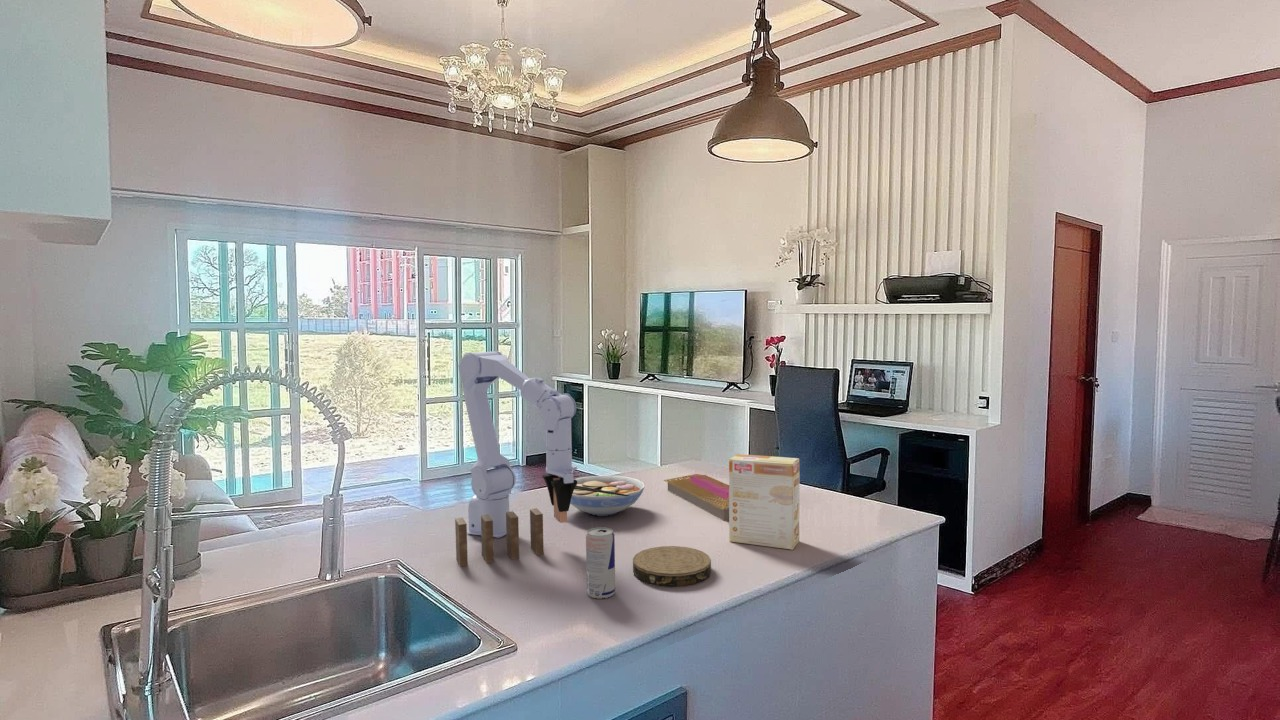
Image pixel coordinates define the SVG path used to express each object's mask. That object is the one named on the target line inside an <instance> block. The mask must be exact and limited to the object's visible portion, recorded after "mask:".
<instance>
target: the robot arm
mask: <svg viewBox="0 0 1280 720" xmlns="http://www.w3.org/2000/svg"><path fill="white" fill-rule="evenodd" d="M508 359H509V358H508V356H507V355H505V354H503V353H502V352H501V351H499V350H492V351H482V352H479V351H478V352H470V351H469V352H466V353H464V354H463V355H462V358H461V360H460V362H459V363H458V365H457V367H458V370H459V375H460V379H461V384H462V385H461V386H462V394H463V397H464V403H465V408H466V411H467V416H468V421H469V426H470V430H471V433H472V434H471V435H472V438H473V444H474V447H475V452H476V458H477V459H476V461H475V463H474V464H473V465H472V467H470V475H471V481H470V487H471V490H472V492H473V494H474V495H473V496H472V497H470V498H471V499H469V503H468V509H467V510H468V530H467V535H475V536H481V515H487V514H488V515H489V516H490V517H491V519H492V520H493V538H498V539H499V538H502V537H504V536H506V512H510V494H512V489H514V487H515V486H516V482H517V479H516V478H517V477H516V474H515V471H514V470H513V468H512V466H511V463H510V459H508V458H507V457H505V456H504V455H502V454H501V453H500V447H499V443H498V439H497V434H496V430H495V425H494V420H493V415H492V411H491V408H490V403H489V399H488V394H487V391H488V390H489V388H490V386H492V385H493V383H494V382H496V381H497V380H498V379H499V378H500V379H502V380H503V381H505V382H506V383H508V384H509V385H510V386H512V387H515V388H516V390H517V389H518V390H519V391H520V397H521V398H522V399H523V400H524V401H526V402H527V403H529V404H530V405H531V406H533V407H534V408H535V409H537V410H538V411H539V415H540V417H541V418H542V421H543V427H544V429H545V453H546V454H545V456H546V457H545V458H546V459H545V460H546V462H545V464H546V467H545V474H542V479H543V480H544V482H545V484H546V488H547V491H548V495H549V499H550V503H551V506H553V507H554V493H553V488H554V490H555V494H556V499H557V506H558V510H559V512H564V511H567V512H569V510H570V506H571V504H570V502H571V497H572V494H573V491H574V489H575V487H576V485H577V480H574V479H575V478H574V473H573V472H574V471H576V470H578V466H577V465H573V453H572V452H573V450H572V449H573V447H572V439H573V438H572V419H573V417H574V416H575V415H576V413H577V403H576V400H575V399H574V398H573V397H572V396H571V394H570V393H559V391H558V390H557V389H556V388H553V387H551V386H549V385H548V384H546V383H545V382H544V379H543V378H542V377H531V378H529V377H528V375H526V374H525V373H524V372H522V371H521V370H520V369H519V368H518V367H516V366H515V365H514V364H513V363H511V362H510V361H509V360H508ZM491 468H492V469H491ZM546 473H547V474H546ZM559 477H560V480H553V478H559Z"/></svg>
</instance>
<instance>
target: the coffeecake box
mask: <svg viewBox="0 0 1280 720" xmlns="http://www.w3.org/2000/svg"><path fill="white" fill-rule="evenodd" d="M800 468H801V467H800V458H797V457H785V456H770V455H758V454H757V455H756V454H741V453H738V454H737V453H736V454H735V455H734V456H732V457H730V458H729V460H728V485H729V503H728V505H729V520H728V521H729V522H728V523H729V524H728V525H729V526H728V532H729V533H728V535H729V537H728V538H729V542H730V543H731V542H732V543H737V544H738V543H740V544H747V545H754V546H762V547H770V548H777V549H785V550H791V551H793V550H794V549H795V548H796V546H797V545H798V544H799V542H800V513H801V512H800V505H801V504H800V489H801V488H800V481H801V480H800V473H801V472H800Z"/></svg>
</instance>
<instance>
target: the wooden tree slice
mask: <svg viewBox="0 0 1280 720" xmlns="http://www.w3.org/2000/svg"><path fill="white" fill-rule="evenodd" d="M711 568H712V559H711V557H710V556H709V555H708V554H707V553H706V552H704V551H702V550H699V549H696V548H692V547H687V546H680V545H679V546H676V545H665V546H656V547H650V548H647V549H643V550H641V551H639V552H638V553H636V554H635V555H634V556H633V558H632V572H633V573H634V574H633V576H634V578H636V580H637V581H639V580H640V581H639V582H642V583H644V582H645V583H644V584H646V583H647V584H646V585H650V584H651V585H650V586H654V585H655V586H656V587H663V588H684V587H685V588H686V587H690V586H696V585H698V584H701V583H704V582H705V581H706V580H707V579H709V578H710V576H711V573H712V569H711Z"/></svg>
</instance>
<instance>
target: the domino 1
mask: <svg viewBox="0 0 1280 720" xmlns="http://www.w3.org/2000/svg"><path fill="white" fill-rule="evenodd" d="M454 523H455V525H454V526H455V529H454V530H455V556H456V562H457V563H458V565H459V567H467V566H468V565H469V563H468V562H469V561H468V534H467V531H468V529H467V528H468V527H467V525H468V524H467V522H466V520H465V519H464V517H457V518H456V517H455V519H454Z"/></svg>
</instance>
